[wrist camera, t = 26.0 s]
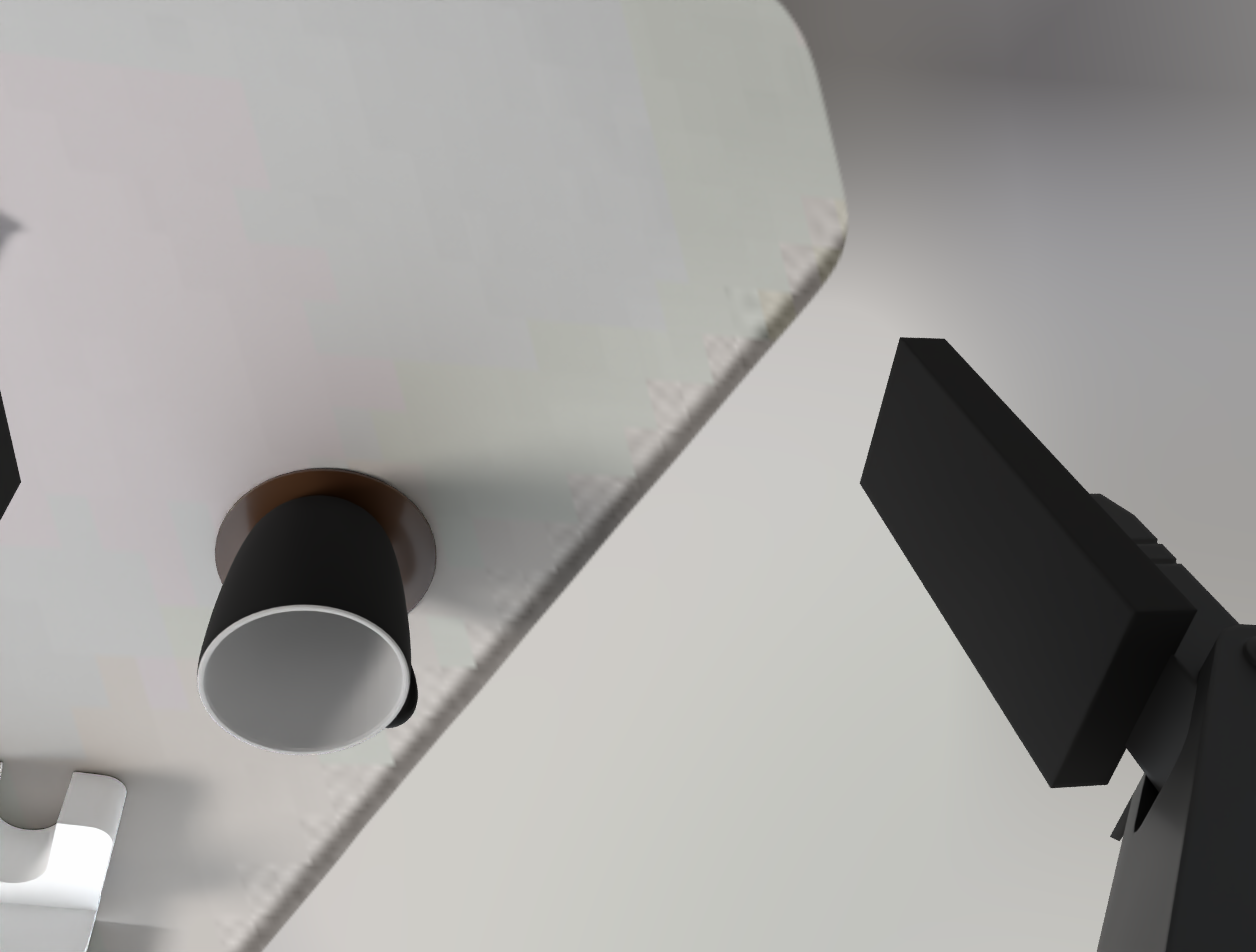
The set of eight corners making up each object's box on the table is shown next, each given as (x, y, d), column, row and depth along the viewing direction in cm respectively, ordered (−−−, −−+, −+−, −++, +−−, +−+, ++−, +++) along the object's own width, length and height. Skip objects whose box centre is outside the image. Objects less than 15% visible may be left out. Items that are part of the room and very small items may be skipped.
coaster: (437, 468, 54) (438, 470, 53) (434, 635, 59) (434, 637, 59) (205, 467, 51) (204, 469, 51) (225, 640, 57) (225, 643, 57)
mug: (188, 531, 53) (148, 674, 45) (335, 439, 51) (321, 570, 43) (344, 670, 59) (334, 817, 51) (478, 592, 58) (490, 730, 50)
